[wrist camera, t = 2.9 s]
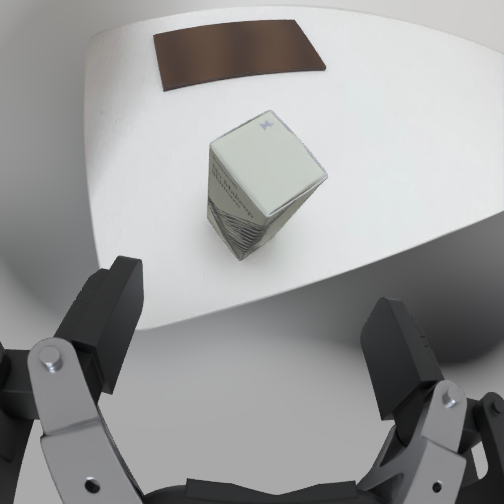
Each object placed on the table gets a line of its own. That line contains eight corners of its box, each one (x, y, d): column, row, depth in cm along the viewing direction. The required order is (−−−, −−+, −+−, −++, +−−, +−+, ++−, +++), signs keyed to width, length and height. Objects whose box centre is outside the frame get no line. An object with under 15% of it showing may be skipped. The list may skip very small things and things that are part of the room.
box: (205, 217, 27) (201, 139, 14) (244, 191, 28) (268, 103, 15) (241, 265, 26) (266, 220, 14) (280, 236, 27) (332, 173, 15)
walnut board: (163, 91, 29) (163, 87, 29) (153, 38, 31) (153, 34, 30) (325, 70, 33) (326, 67, 32) (293, 22, 34) (294, 19, 34)
